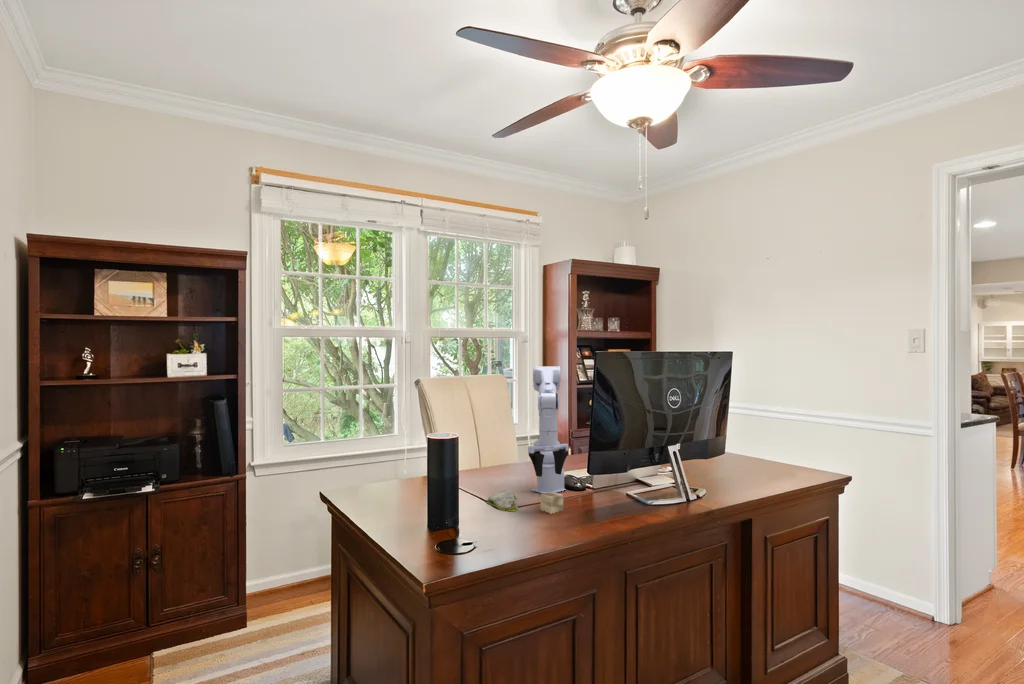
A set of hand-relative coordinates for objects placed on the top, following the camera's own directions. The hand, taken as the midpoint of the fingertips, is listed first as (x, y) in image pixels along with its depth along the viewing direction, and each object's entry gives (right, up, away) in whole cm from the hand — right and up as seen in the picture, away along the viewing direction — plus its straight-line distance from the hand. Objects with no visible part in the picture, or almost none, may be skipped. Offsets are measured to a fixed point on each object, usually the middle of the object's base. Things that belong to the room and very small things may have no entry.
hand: (548, 475), depth 176 cm
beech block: (+1, -11, 0) cm, 11 cm away
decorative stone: (-14, -12, +10) cm, 21 cm away
